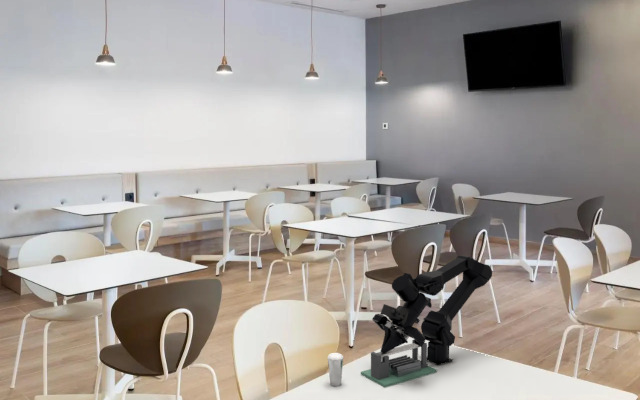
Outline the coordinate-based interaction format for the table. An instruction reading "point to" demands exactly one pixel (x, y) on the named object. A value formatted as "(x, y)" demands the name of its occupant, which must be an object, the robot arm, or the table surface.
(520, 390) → the table surface
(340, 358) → the milkshake
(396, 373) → the heatsink
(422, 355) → the bracket
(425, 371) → the board
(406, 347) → the metal bar
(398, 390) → the table surface
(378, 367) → the lug block
